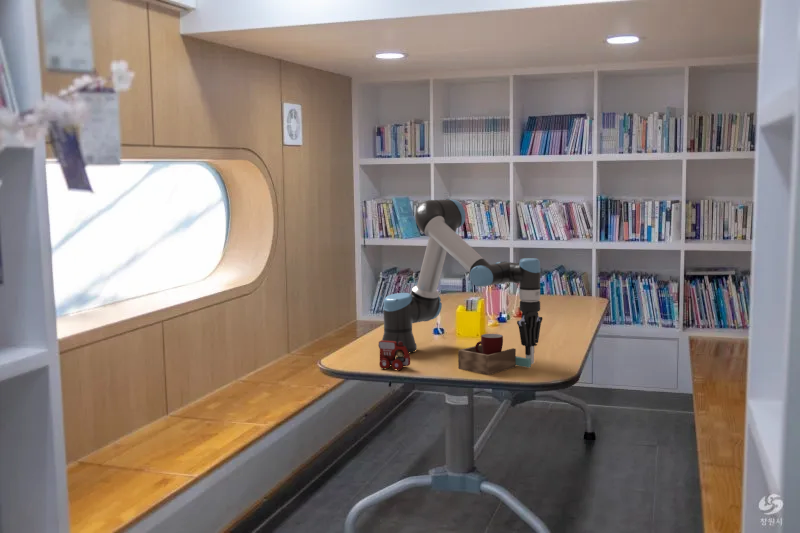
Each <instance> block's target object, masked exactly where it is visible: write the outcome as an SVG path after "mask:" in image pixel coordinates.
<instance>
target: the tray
mask: <svg viewBox="0 0 800 533" xmlns="http://www.w3.org/2000/svg"><path fill="white" fill-rule="evenodd" d="M516 366H519V367H524V368H529V369H530V368H532V364H531V359H528V358H526V357H523V356H522V357H521V356H518V355H516Z"/></svg>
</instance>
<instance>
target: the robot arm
mask: <svg viewBox="0 0 800 533" xmlns="http://www.w3.org/2000/svg"><path fill="white" fill-rule="evenodd" d="M414 218H415V223H416V225H417V227H418V228H419V229H420V231H421V232H422V234H424V236H426V237H428V239H427V240H428V241H427V244H426V248H425V252H424V256H423V260H422V264H421V267H420V271H419V275H418V281H417V283H416V285H414V286H413V287H412V289H411V293H408V292H399V293H396V292H395V293H391V294H389V295H386V296H385V298H384V299H383V307H382V309H383V335H382V339H381V340H384V341H395V342H397V343H398V342H399V341H402V342H403V346H406V348H407V350H408V352H413V351H415V350H416V349H418V346H417V343H416V339H415V337H414V334H413V324H417V323H421V322H429V321H431V320H434V319H436V318H437V317H438V316H439V315H440V313H441V311H442V305H443V304H442V303H443V302H442V300H441V297H440V293H439V291H438V288H439V283H440V279H441V276H442V271H443V268H444V265H445V264H444V263H445V261H446V260H445V259H446V257H447V253H448V254H449V255H450V256H451V257H452V258H453V259H454V260H455V261H456V262H457V263H458V264H459V265H460V266H461V267H462V268H464V269H465V270H466V272H468V273H469V279H470V281H471V284H473V285H474V286H476V287H489V286H492V285H493V286H494V285H501V284H507V283H512V284H513V283H514V284H519V311H520V312H521V316H520V318H521V319H520V320H517V321H516V323H517V326H518V330H519V339H520V344H521V345H522V346H524V347H525V348H524V354H525V358H528V359H531V365H533V364H534V363H535V347H536V346H538V343H539V340H540V333H541V332H540V331H541V326H542V322H543V317H542V316H539V312H540V311H541V301H540V300H541V274H542V270H541V261H540V259H539V258H536V257H534V258H533V257H532V258H531V257H526V258H525V257H524V258H520V259H519V262H510V261H509V262H508V261H497V262H495V263H493V264H492V263H491V264H490V263H489V262H488V261H487V260H486V259H485V258H483V257H482V256H481V255H480V253H478V251H476V250H475V249H474V248H473V247H472V246H471V245H469V243H467V242H466V241H465V240H464V239H463V238H462V237H461V236H460V235H459V234H458V233H457V230H458V229H459V228H460V227H463V225H464V223H465V222H466V211H465V209H464V206H463V204H462V203H461V202H460V201H458V200H456V199H450V198H446V199H429V200H425V201H423V202H421V203H420V204H419V205H418V207H417V209H416V210H415V214H414ZM398 350H399V349H398ZM398 350H397V351H398ZM397 351H396V352H397ZM413 353H414V352H413Z"/></svg>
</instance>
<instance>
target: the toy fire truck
mask: <svg viewBox="0 0 800 533" xmlns="http://www.w3.org/2000/svg"><path fill="white" fill-rule="evenodd" d="M378 348H379V367H380V368H381V369H382V368H388V369H390V367H392V369H393V370H394V369H397V370H398V371H400V370H402V369H403V368H404V367H403V366H406V367H409V366H411V355H410V353H409V352H408V350H407V348H406V346H403V342H402V341H399V342H398V343H397V342H395V341H384V340H382V339H381V340H379V341H378ZM398 349H399V350H398ZM397 350H398V351H397ZM396 351H397V352H396ZM390 365H392V366H390ZM397 370H396V371H397Z"/></svg>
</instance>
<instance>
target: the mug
mask: <svg viewBox="0 0 800 533" xmlns="http://www.w3.org/2000/svg"><path fill="white" fill-rule="evenodd" d="M480 337H481V338H480V341H478V342H476V344H475V345H474V346H475V350H476V352H477V353H481V352H480V351H479V350H478V346H479V345H482V350H483V353H481V354H486V355H489V354H493V353H497V352H501V351H503V344H504V336H503V335H502V334H499V333H485V334H481V336H480Z"/></svg>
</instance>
